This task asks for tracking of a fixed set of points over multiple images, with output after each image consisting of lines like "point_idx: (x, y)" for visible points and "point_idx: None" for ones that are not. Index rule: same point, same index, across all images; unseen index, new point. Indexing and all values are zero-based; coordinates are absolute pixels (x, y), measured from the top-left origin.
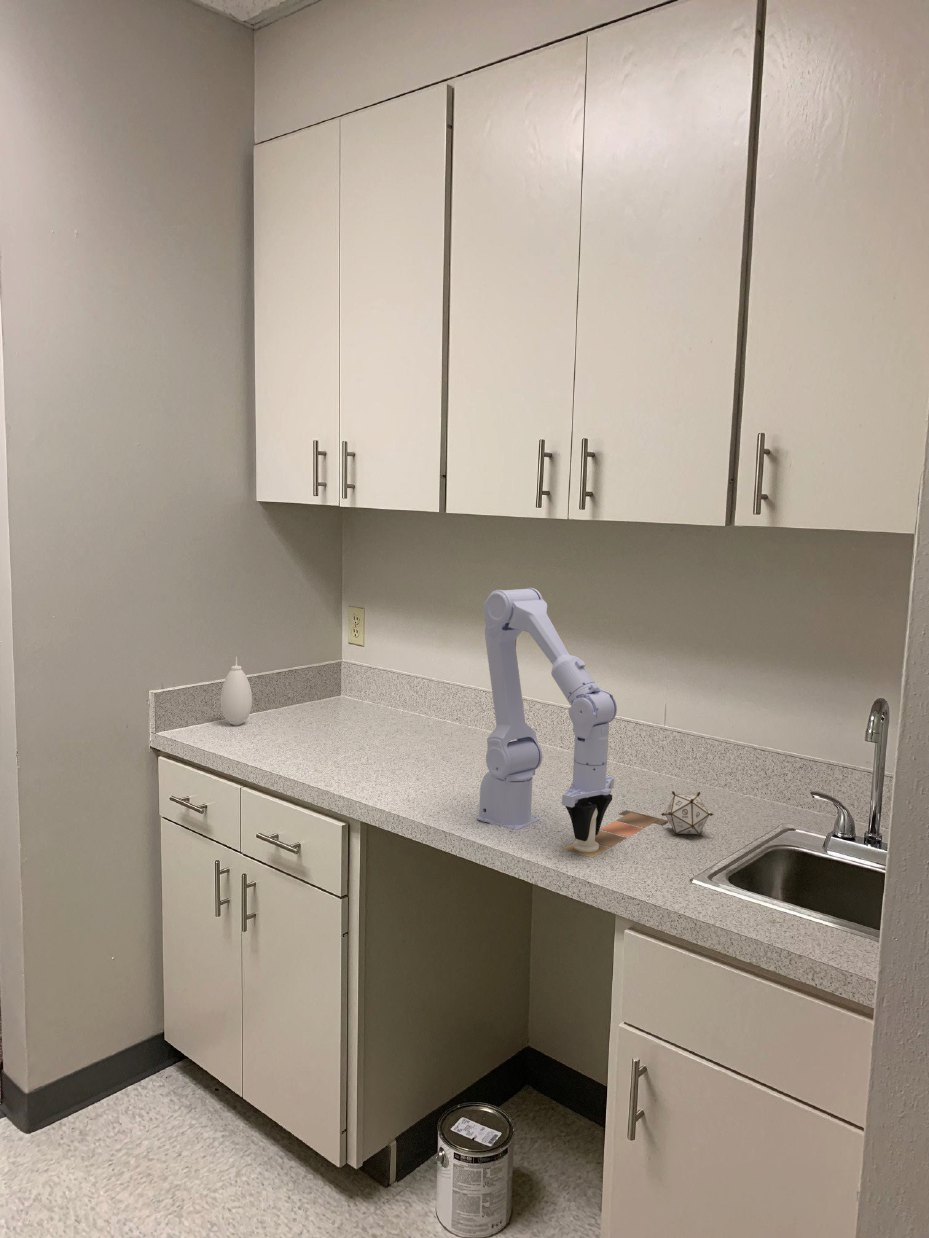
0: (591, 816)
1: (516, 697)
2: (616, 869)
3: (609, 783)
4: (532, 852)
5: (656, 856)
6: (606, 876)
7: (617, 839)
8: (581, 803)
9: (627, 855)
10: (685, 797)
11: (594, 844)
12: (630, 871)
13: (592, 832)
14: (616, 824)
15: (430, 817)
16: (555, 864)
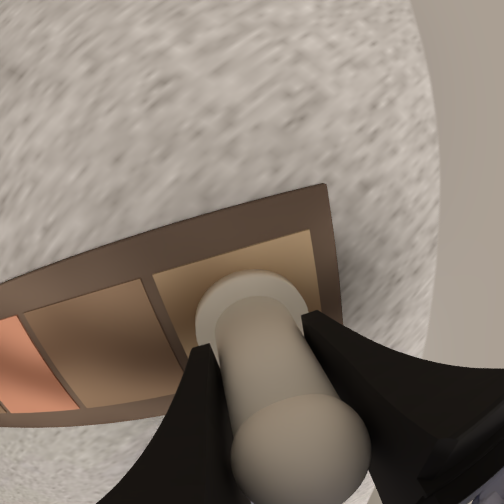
0: (392, 382)
1: None
2: (301, 89)
3: None
4: None
5: (31, 106)
6: (381, 79)
7: (63, 321)
8: (499, 443)
9: (125, 176)
10: None
11: (236, 303)
12: (267, 39)
13: (276, 337)
14: (13, 398)
15: (352, 497)
16: (421, 264)
